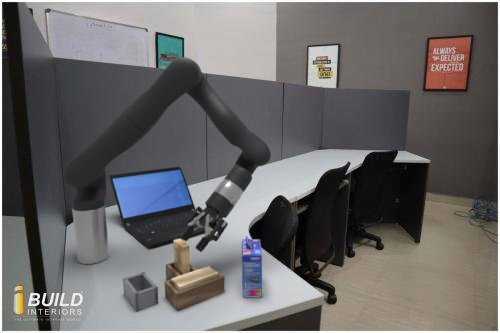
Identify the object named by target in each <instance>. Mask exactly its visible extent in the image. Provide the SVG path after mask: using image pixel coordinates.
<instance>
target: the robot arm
mask: <svg viewBox="0 0 500 333" xmlns="http://www.w3.org/2000/svg"><path fill="white" fill-rule="evenodd" d="M185 94H187V95H188V96H189V97H190V98H192V99H193V100H194V101H195V102H196V103H197V104H198V105H199V106H200V108H201V109H202V110H203V111H204V113H205V114H206V115H207V117H208V118H209V119H210V121H211V122H212V125H214V127H215V128H216V129H217V131H218V132H220V134H221V135H222V136H223V137H224V138H225V139H226V141H228V143H230V144H231V145H232V146H233V147H237V148H238V149H240V150H241V153H240V154H239V156H238V158H237V160H236V161H235V162H234V163H235V164H234V165H233V167H232V168H231V169H230V170H229V172H228V173H227V175H225V177H224V178H223V179H222V181H221V182H219V184H218V185H217V186H216V188H215V189H214V190H213V192H212V193H211V194H210V195H209V197H208V199H206V201H205V204H204V205H205V206H206V207H205V208H202V207H201V206H197V207H195V209H196V210H195V211H194V212H193V213H192V214H191V216H190V217H189V218H188V219H187V221H186V222H187V223H188V227H187V229H186V230H185V231H184V233H183V234H182V236H181V238H182V239H181V240H183V241H184V242H187V241H188V240H189V239H190V238H191V237H192V236H191V235H192V234H193V232H194V231H193V230H196V229H197V228H199V227H200V228H201V227H204V228H205V233H204V236H202V237H201V239H200V240H199V242H198V243H197V244H196V246H195V249H196V250H197V251H198V252H199V253H202V252H203V251H204V250H205V249H206V247H207V246H208V244H209V243H210V242H212V241H214V242H218V241H219V239H220V238H221V236H222V235H223V233H224V231H225V230H226V228H227V227H228V225H229V223H228V222H227V221H226V220H225V219H226V218H227V217H229V215H230V214H231V212H232V211H233V209H234V208H235V206H236V205H237V204H238V202H239V201H240V199H241V197H242V196H243V194H244V192H245V191H246V189H247V188H248V187H249V185H251V182H252V180H253V174H254V173H255V171H256V170H257V168H258V167H262V166H265V165H266V164H268V163H269V161H270V160H271V157H272V153H271V150H270V147H269V146H268V145H267V143H266V142H265V141H264V140H263V139H261V137H259V136H258V135H257V134H256V133H254V132H252V131H251V130H250V129H249V128H248V127H247V125H245V123H244V122H243V121H242V120H241V119H240V118H239V116H238V115H237V114H236V113H235V112H234V111H233V110H232V109H231V108H230V106H228V105H227V103H226V102H225V101H224V100H223V99H222V98H221V97H220V96H219V95H218V93H217V92H216V91H215V90H214V89H213V87H212V86H211V85H210V83H209V81H208V80H207V78H206V77H205V75H204V73H203V72H202V69H201V67H200V66H199V64H198V63H197V62H196V61H194V60H193V59H192V58H189V57H184V56H183V57H182V56H181V57H177V58H175V59H173V60H172V61H171V62H170V63H169V64H168V65H167V67H166V68H165V69H164V70H163V71H162V73H160V75H159V76H158V78H157V79H156V80H155V81H154V83H153V84H151V86H149V88H148V89H146V90H145V91H144V92H143V93H141V94H140V95H139V96H137V97H136V98H135V99H134V100H133V101H132V102H130V103H129V105H127V106H126V107H125V108H124V109H123V110H122V111H120V113H118V115H117V116H116V117H115V118H114V119H113V120H112V121H111V122H110V123H109V124H108V125H107V126H106V127H105V128H104V130H102V132H101V133H100V134H99V135H98V136H97V137H96V138H95V139H94V140H93V142H91V143H90V144H89V145H88V146H87V147H86V148H84V149H82V151H80V153H78V154H76V155H75V156H74V157H73V158H72V159H70V160H69V161H68V162H67V163H66V164H65V166H64V168H63V172H62V173H63V179H64V181H65V183H66V184H67V185H68V186H70V187H72V188H75V193H74V195H73V198H72V199H71V211H72V219H73V220H72V221H73V227H74V228H73V229H74V239H75V248H76V249H75V250H76V258H77V259H76V260H77V262H78V263H80V264H83V265H92V264H97V263H101V262H103V261H106V259H108V258H109V257H110V251H109V239H108V238H109V237H108V236H109V235H108V225H107V214H106V213H107V211H106V201H105V200H106V196H107V174H106V173H107V172H106V167H107V166H108V165H109V164H110V163H111V162H112V161H113V160H114V159H116V158H117V157H119V156H120V155H122V154H124V153H125V152H126V151H128V150H129V149H131V148H132V147H133V146H134V145H136V144H137V143H138V142H139V141H141V140H142V139H143V138H144V137H145V136H146V135H147V134H148V133H149V132H150V131H151V130H152V129H153V128H154V127H155V126H156V124H157V123H158V122H159V120H160V119H161V117H162V116H163V115H164V114H165V112H166V111H167V110H168V108H169V107H171V105H172V104H174V103H175V102H177V100H178V99H180V98H181V97H182V96H183V95H185ZM193 218H194V220H193V221H191V220H192V219H193ZM198 220H199V221H198ZM195 224H196V225H195ZM190 236H191V237H190Z"/></svg>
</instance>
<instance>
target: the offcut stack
mask: <svg viewBox="0 0 500 333" xmlns="http://www.w3.org/2000/svg"><path fill="white" fill-rule="evenodd" d="M210 266H211V265H208V266H203V267H202V268H198V269H197V270H195V271H192V272H189V273H186V274H183V275H181V276H178V277H175V278H172V279H171V285H172V286H173V287H174V288H175V289H176V290H177V291H178V292H180V291H182V290H185V289H188V288H191V287H193V286H196V285H199V284H201V283H204V282H207V281H209V280H212V279H215V278H217V277H218V272H219V271H218V272H216V271H217V270H216V269H215V268H214V269H215V270H216V271H215V270H214V269H212V268H213V267H212V266H211V267H212V268H211V267H210Z"/></svg>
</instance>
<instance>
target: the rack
mask: <svg viewBox="0 0 500 333" xmlns="http://www.w3.org/2000/svg"><path fill="white" fill-rule="evenodd" d="M209 266H210V267H211V268H212V269H214V270H215V271H216V272H218V277H217V278H215V279H212V280H209V281H207V282H204V283H201V284H199V285H196V286H193V287H191V288H188V289H185V290H182V291H180V292H178V291H177V290H176V289H175V288H174V287H173V286H172V285H171V279H172V278H175V277H178V276H181V275H180V274H179V273H178V272H177V271H176V270H175V269H174V261H172V262H169V263H166V264H165V277H166V280H165V281H164V296H165V299H166V300H167V301H168V302H169V303H170V304H171V306H172V307H173V308H174V309H175V310H176V311H177V312H180V311H182V310H185V309H188V308H189V307H192V306H194V305H197V304H199V303H202V302H204V301H206V300H209V299H211V298H214V297H215V296H219V295H221V294H223V293H226V292H225V291H226V290H225V289H226V288H225V286H226V285H225V283H226V282H225V276H224V275H223V274H221V272H219V271H218V270H216V269H215V268H214V267H212V265H209ZM195 270H198V269H197V268H195V267H194V266H193V265H192V264H191V263H190V272H192V271H195Z"/></svg>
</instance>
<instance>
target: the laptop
mask: <svg viewBox="0 0 500 333" xmlns="http://www.w3.org/2000/svg"><path fill="white" fill-rule="evenodd" d="M109 180H110V183H111V187H112V191H113V192H112V193H113V195H114V199H115V202H116V205H117V210H118V213H119V216H120V220H121V224H122V226H123V228H124V230H126V231H127V232H128V233H130V234H131V235H133V236H134V237H135V238H136V239H137V240H139V242H141V243H142V244H143V245H145V247H148V248H150V249H152V248H156V247H159V246H162V245H166V244H169V243H172V242H173V240H176V239H181V240H183V239H182V238H181V236H182V234H183V233H184V231H185V230H186V229H187V227H188V223H187V222H186V221H187V219H188V218H189V217H190V216H191V214H192V213H193V212H194V211H195V210H196V207H195V204H194V202H193V198H192V194H191V192H190V189H189V186H188V183H187V180H186V177H185V174H184V172H183V169H182V168H181V167H180V166H173V167H165V168H158V169H149V170H141V171H134V172H125V173H117V174H110V175H109ZM193 220H194V218H193V219H192V220H191V221H193ZM198 221H199V220H198ZM195 225H196V224H195ZM193 231H194V232H193V234H192V235H191V236H190V238H191V237H194V236H197V235H201V234H205V228H204V227H201V228H200V227H199V228H197V229H196V230H193ZM173 243H174V242H173Z"/></svg>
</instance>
